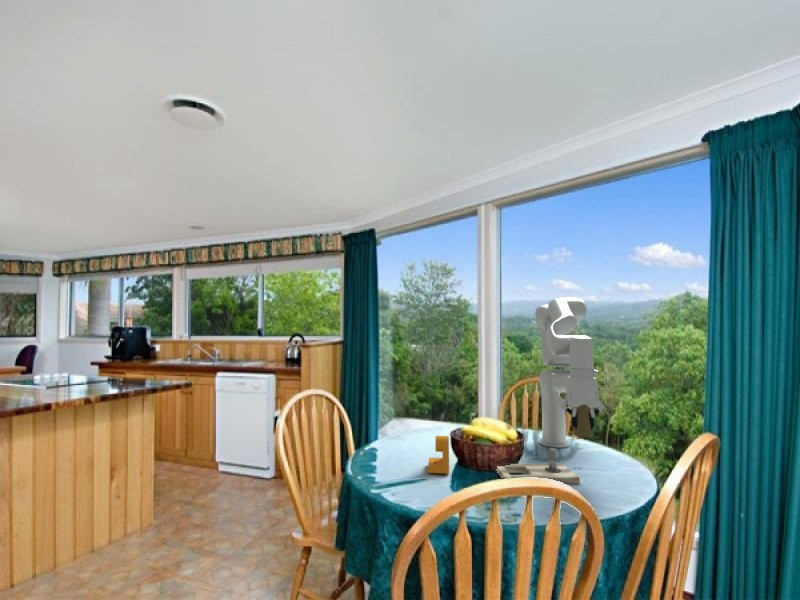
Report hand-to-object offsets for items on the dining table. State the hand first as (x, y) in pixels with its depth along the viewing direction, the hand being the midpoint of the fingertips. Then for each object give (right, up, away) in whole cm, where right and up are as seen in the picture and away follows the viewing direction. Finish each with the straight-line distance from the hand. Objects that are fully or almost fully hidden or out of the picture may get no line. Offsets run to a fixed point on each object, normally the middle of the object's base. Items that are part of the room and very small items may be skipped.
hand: (582, 428), depth 143 cm
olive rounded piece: (0, -2, 0) cm, 2 cm away
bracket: (-47, -18, +9) cm, 51 cm away
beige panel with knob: (-15, -17, +2) cm, 23 cm away
